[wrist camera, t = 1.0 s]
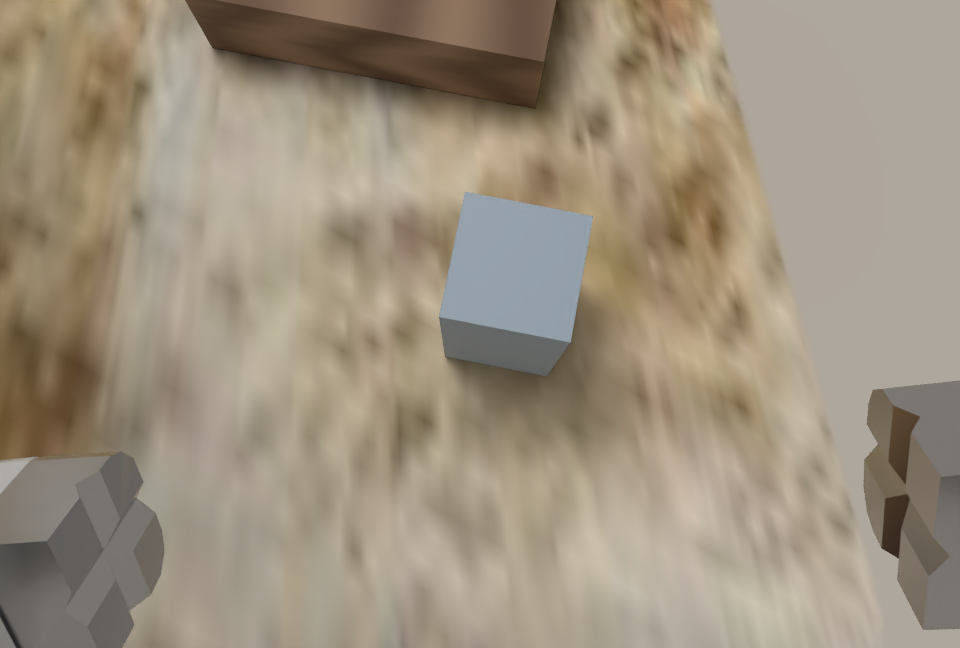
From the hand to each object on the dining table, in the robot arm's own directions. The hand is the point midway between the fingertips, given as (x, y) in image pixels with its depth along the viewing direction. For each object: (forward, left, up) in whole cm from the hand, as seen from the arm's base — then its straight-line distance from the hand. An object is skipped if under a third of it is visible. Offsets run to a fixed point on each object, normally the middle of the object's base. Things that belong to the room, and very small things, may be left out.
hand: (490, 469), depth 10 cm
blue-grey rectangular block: (0, +8, -32) cm, 34 cm away
